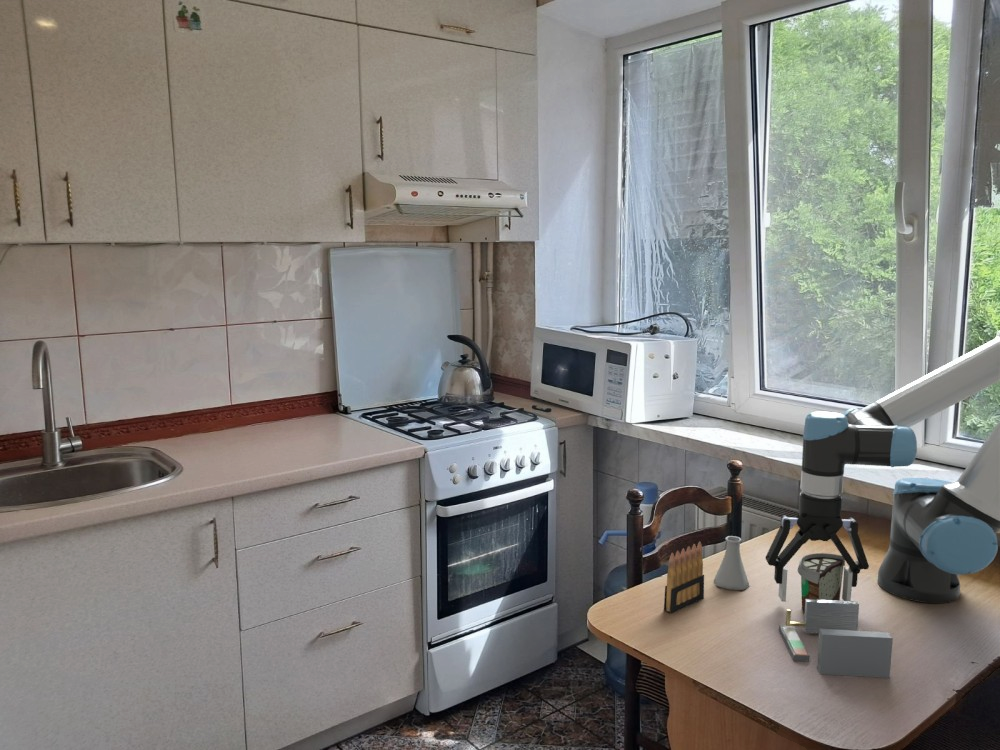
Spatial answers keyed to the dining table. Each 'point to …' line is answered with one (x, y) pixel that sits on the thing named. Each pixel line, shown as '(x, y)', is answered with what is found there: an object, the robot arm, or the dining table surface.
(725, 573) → the flask
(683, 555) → the ammunition clip
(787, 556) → the robot arm
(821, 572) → the food container
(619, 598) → the dining table surface
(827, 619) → the plate
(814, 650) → the dining table surface
